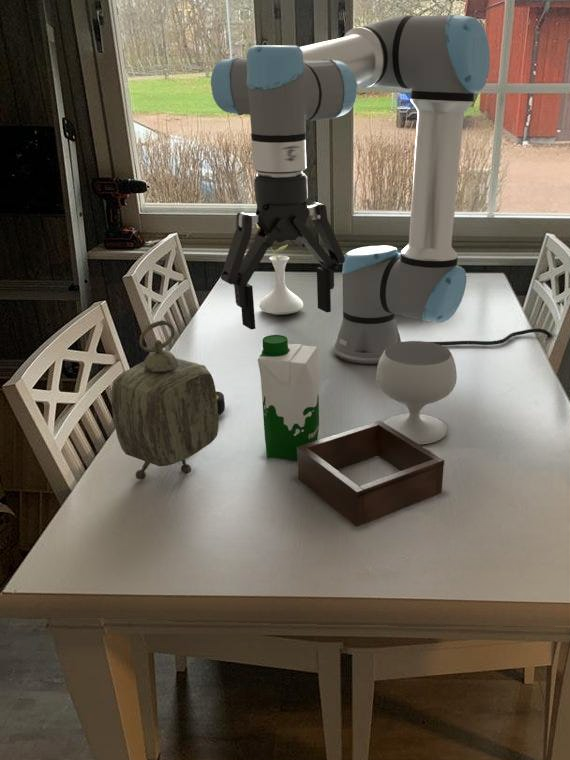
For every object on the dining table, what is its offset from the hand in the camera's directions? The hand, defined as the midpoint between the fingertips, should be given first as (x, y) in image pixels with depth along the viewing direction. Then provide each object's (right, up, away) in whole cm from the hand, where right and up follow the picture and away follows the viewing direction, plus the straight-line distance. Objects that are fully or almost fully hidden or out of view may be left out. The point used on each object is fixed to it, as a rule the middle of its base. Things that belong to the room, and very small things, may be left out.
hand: (287, 318), depth 114 cm
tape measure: (-18, -13, +24) cm, 33 cm away
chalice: (+21, -16, +19) cm, 33 cm away
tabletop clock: (-19, -24, +6) cm, 31 cm away
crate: (+13, -26, +2) cm, 29 cm away
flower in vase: (-10, +19, +77) cm, 79 cm away
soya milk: (0, -20, +12) cm, 24 cm away
